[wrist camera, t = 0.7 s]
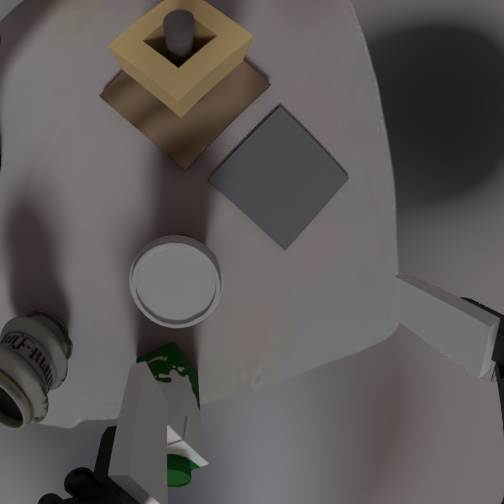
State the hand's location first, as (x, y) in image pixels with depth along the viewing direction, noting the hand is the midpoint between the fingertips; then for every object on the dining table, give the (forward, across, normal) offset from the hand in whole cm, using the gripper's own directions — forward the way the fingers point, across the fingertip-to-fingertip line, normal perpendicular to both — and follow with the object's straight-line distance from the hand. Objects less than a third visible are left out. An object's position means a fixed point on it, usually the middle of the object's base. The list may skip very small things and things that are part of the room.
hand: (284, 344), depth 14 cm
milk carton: (+27, -14, -16) cm, 35 cm away
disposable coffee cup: (+27, -6, -1) cm, 28 cm away
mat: (+27, +10, +6) cm, 29 cm away
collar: (+18, 0, +21) cm, 28 cm away
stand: (+27, 0, +21) cm, 34 cm away
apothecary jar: (+27, -32, -6) cm, 43 cm away
